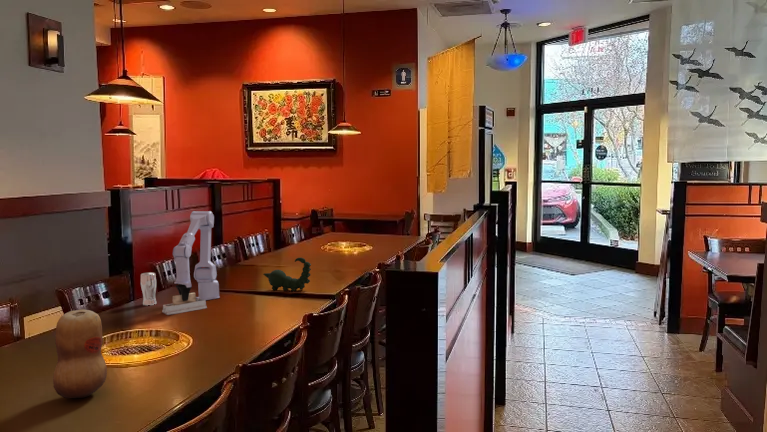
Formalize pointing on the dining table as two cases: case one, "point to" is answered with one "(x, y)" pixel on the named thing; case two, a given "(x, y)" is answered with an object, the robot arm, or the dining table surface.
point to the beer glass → (148, 288)
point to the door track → (184, 307)
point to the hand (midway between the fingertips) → (184, 300)
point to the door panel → (178, 300)
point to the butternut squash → (79, 354)
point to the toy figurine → (289, 278)
